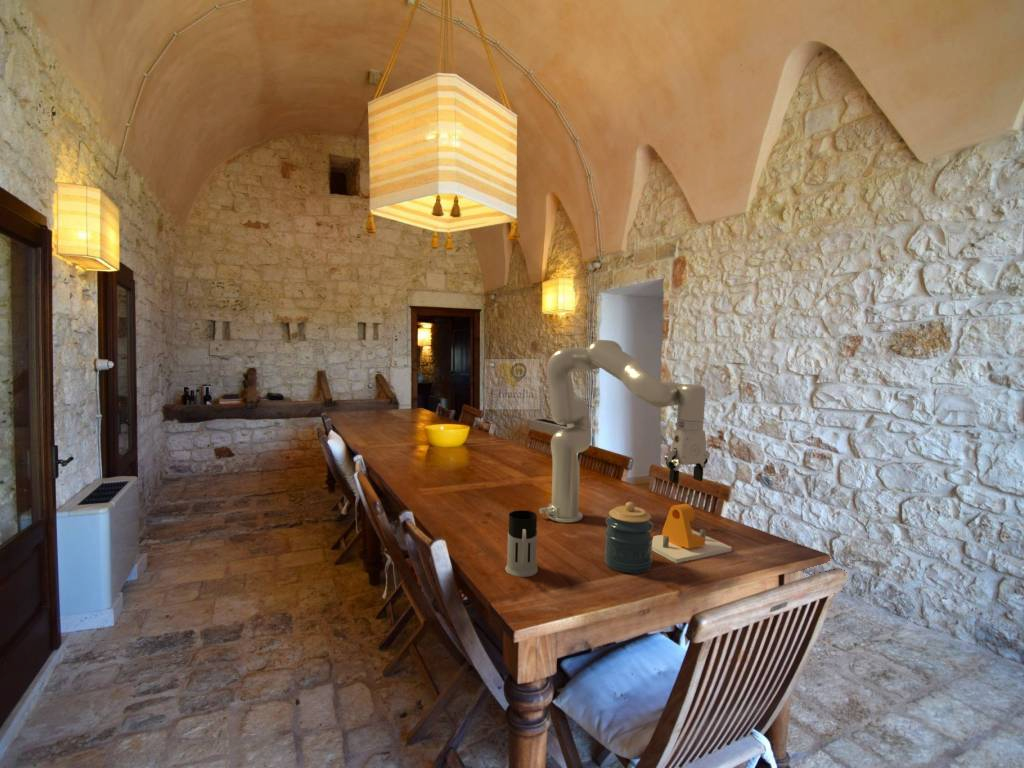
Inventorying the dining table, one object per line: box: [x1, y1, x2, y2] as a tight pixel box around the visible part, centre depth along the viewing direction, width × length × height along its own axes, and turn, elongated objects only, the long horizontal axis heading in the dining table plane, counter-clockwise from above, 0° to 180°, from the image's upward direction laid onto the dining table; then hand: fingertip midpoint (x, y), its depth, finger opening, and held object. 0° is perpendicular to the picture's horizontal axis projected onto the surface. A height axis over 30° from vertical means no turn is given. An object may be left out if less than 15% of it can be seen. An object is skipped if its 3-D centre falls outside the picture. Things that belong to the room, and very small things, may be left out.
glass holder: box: [504, 509, 538, 578], centre depth 129 cm, size 9×14×15 cm, turn 2°
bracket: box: [661, 503, 705, 549], centre depth 149 cm, size 11×7×12 cm, turn 26°
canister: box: [603, 501, 654, 574], centre depth 136 cm, size 13×13×18 cm
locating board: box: [652, 528, 733, 564], centre depth 149 cm, size 22×16×4 cm
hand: (685, 481), depth 148 cm, fingers open, 9 cm apart
